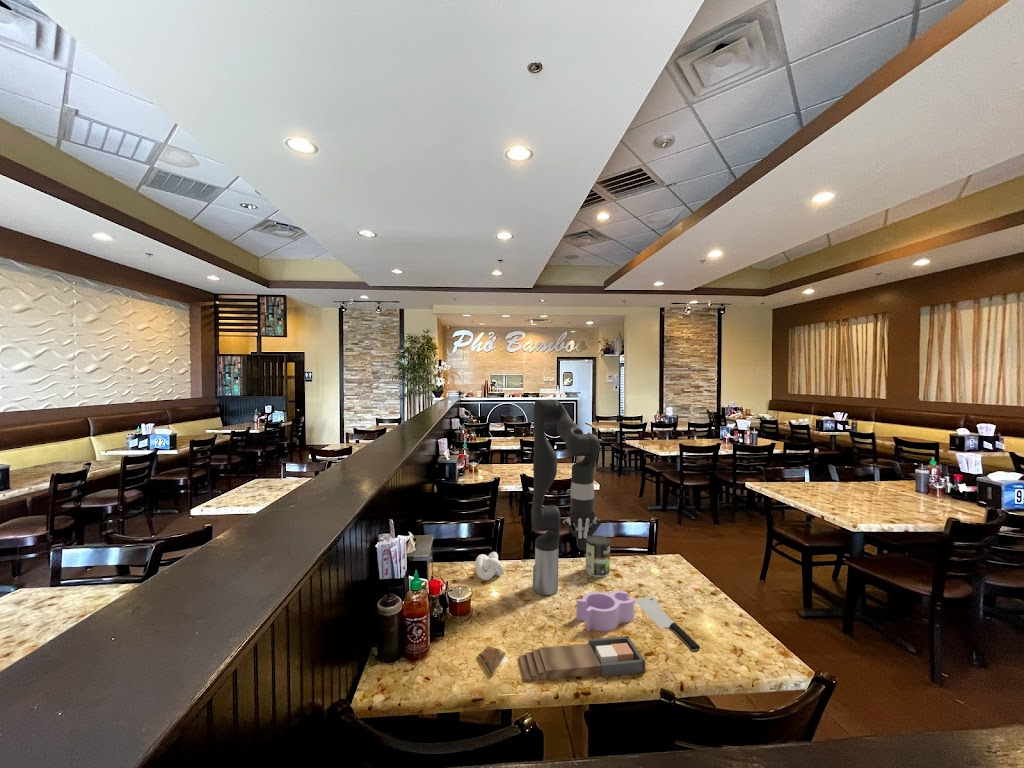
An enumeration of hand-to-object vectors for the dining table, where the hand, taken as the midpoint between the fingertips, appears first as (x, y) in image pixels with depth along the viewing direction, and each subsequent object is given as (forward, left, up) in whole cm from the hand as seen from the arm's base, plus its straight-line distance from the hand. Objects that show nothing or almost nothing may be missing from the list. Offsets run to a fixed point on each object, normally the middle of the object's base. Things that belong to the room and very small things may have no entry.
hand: (581, 548), depth 139 cm
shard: (-18, -24, -30) cm, 42 cm away
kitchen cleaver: (+22, +22, -30) cm, 43 cm away
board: (+2, -15, -29) cm, 33 cm away
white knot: (-48, +21, -29) cm, 60 cm away
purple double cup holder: (+5, +14, -29) cm, 33 cm away
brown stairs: (-7, -21, -29) cm, 37 cm away
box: (+13, -6, -29) cm, 32 cm away
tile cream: (+11, -8, -29) cm, 32 cm away
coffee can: (-9, +47, -29) cm, 56 cm away
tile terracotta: (+15, -5, -29) cm, 33 cm away
